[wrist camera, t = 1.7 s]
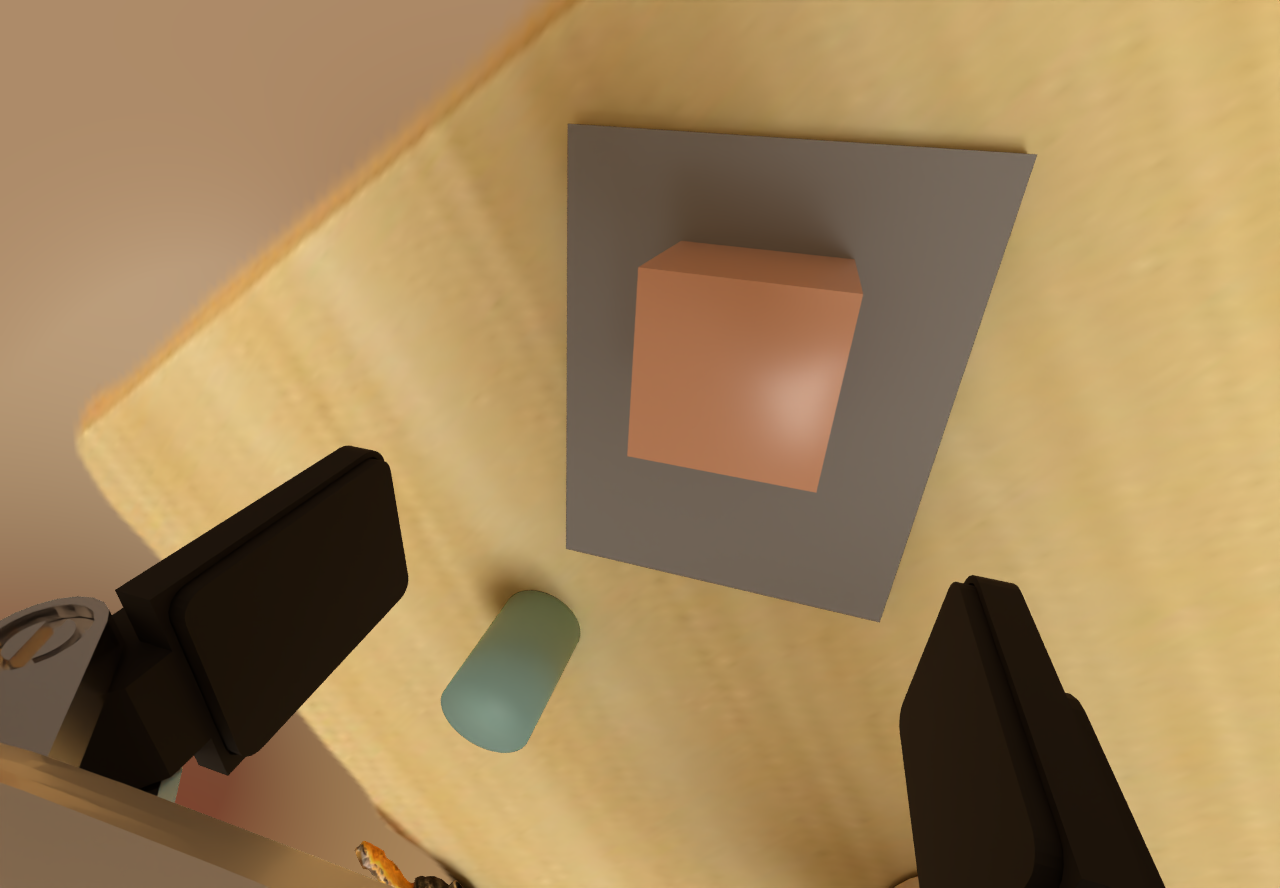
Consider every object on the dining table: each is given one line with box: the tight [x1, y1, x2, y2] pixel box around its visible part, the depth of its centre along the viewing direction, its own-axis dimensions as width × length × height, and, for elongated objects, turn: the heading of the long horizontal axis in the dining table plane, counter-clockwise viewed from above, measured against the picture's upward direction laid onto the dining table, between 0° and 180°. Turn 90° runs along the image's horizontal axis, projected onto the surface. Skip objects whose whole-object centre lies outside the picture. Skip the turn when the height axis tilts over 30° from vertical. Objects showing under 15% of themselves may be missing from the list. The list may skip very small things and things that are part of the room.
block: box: [627, 241, 863, 493], centre depth 21 cm, size 6×6×6 cm
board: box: [566, 124, 1037, 622], centre depth 25 cm, size 16×20×1 cm
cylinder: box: [441, 590, 580, 753], centre depth 33 cm, size 5×5×7 cm
